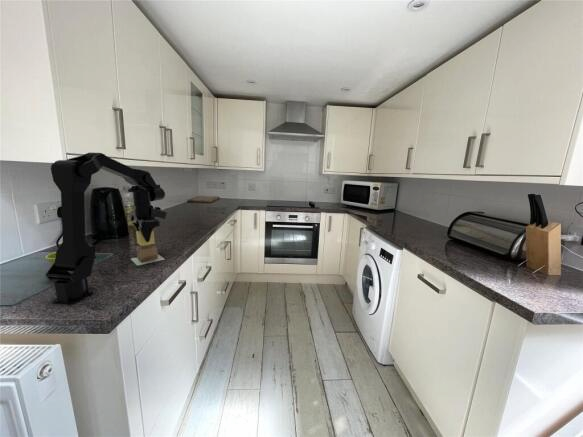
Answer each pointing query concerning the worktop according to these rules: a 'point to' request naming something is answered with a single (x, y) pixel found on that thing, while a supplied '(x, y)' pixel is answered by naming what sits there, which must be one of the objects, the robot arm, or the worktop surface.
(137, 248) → the walnut block
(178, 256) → the worktop surface
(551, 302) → the worktop surface
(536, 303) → the worktop surface
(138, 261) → the baseplate
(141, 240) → the mustard cube
